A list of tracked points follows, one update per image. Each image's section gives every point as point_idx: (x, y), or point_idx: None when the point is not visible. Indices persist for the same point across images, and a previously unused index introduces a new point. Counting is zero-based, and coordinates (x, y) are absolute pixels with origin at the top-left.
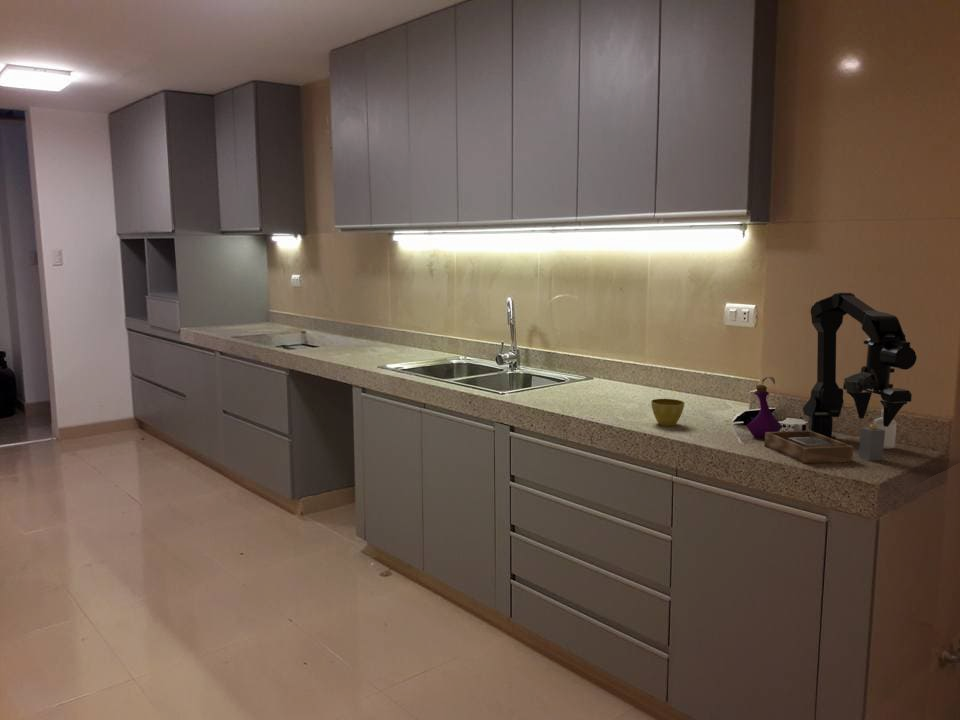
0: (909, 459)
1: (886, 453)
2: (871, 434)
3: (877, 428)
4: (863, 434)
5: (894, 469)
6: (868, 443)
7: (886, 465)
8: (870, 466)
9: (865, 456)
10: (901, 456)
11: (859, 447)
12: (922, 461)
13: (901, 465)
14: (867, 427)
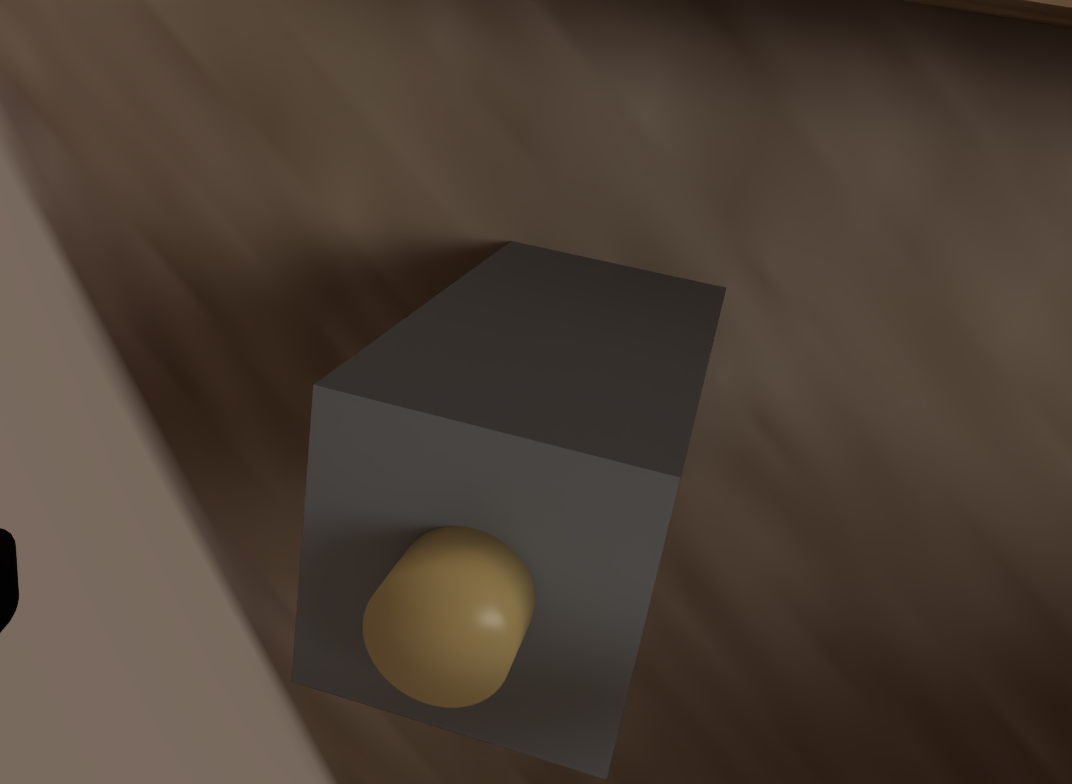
0: (419, 732)
1: (706, 758)
2: (352, 364)
3: (473, 710)
4: (598, 393)
5: (121, 199)
6: (475, 311)
7: (281, 266)
8: (287, 6)
9: (576, 266)
10: (542, 774)
11: (712, 326)
12: (323, 767)
13: (245, 435)
14: (622, 613)
